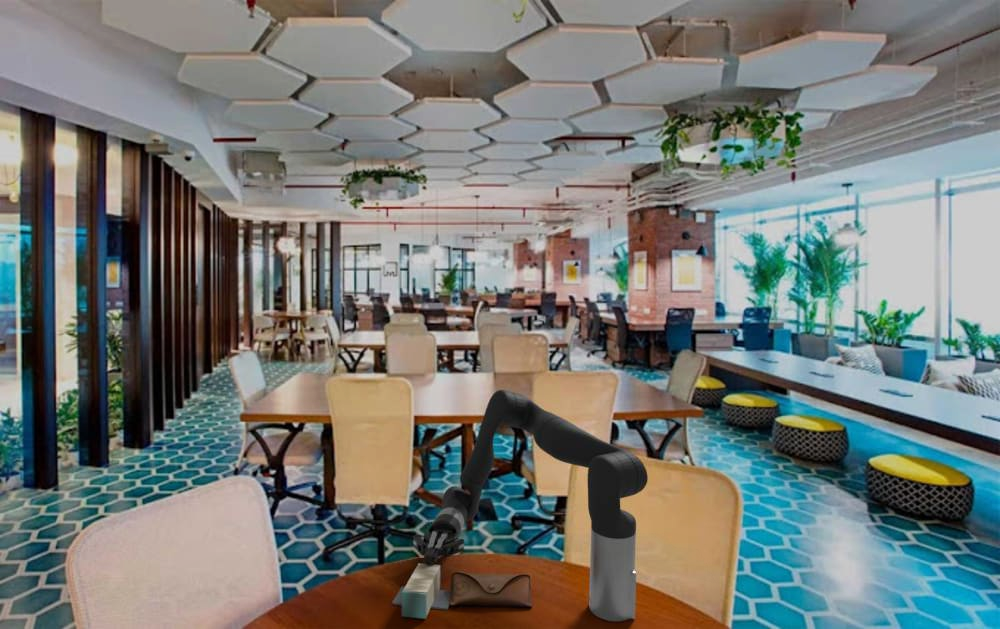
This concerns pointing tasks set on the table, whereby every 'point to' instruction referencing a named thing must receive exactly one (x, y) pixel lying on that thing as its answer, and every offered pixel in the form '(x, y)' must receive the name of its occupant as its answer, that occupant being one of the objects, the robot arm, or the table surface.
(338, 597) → the table surface
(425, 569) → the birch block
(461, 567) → the table surface
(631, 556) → the robot arm
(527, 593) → the sunglasses case
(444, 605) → the rubber mat
